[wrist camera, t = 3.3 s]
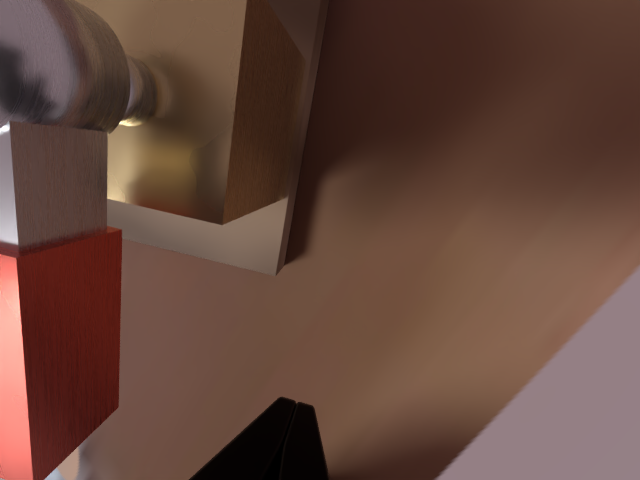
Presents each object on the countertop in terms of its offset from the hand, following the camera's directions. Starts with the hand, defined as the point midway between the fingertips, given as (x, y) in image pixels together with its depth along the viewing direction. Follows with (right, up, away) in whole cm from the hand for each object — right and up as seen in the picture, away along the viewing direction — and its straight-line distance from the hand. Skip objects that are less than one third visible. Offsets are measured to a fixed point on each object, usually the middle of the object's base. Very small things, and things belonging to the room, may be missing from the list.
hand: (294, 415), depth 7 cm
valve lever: (-5, +4, 0) cm, 7 cm away
